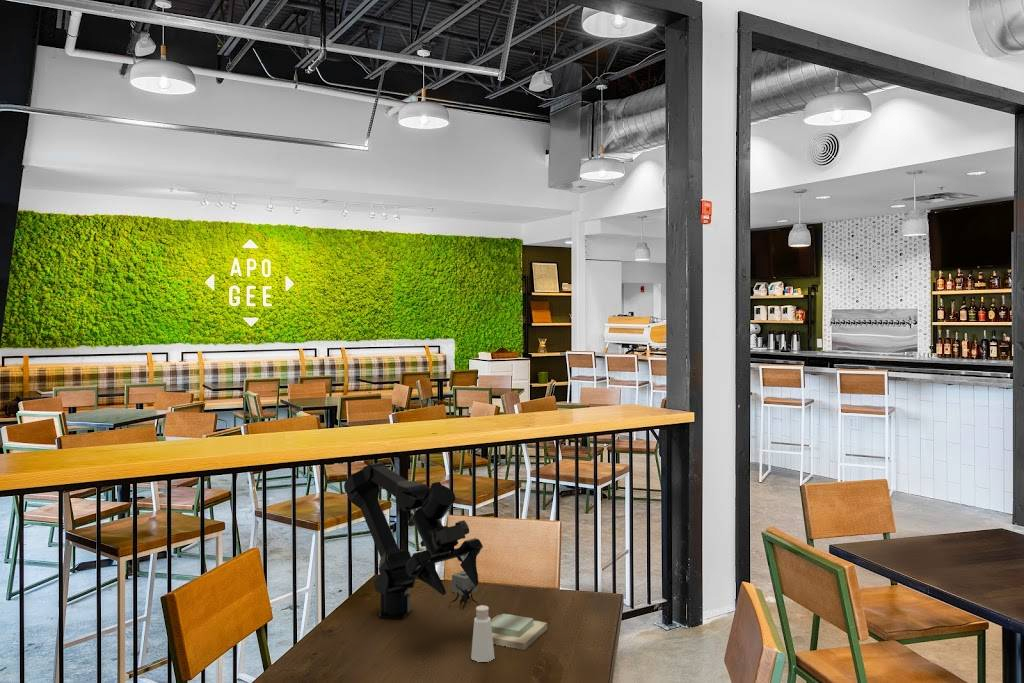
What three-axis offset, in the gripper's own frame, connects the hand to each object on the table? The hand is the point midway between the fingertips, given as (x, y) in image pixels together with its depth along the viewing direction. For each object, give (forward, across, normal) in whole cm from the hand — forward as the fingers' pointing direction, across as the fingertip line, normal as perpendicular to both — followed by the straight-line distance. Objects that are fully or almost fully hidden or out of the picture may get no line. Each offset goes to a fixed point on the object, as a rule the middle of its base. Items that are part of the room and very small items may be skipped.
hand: (461, 589), depth 168 cm
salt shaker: (+15, 0, +4) cm, 15 cm away
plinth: (+11, +13, +8) cm, 18 cm away
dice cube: (-10, +23, +29) cm, 38 cm away
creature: (-4, +16, +23) cm, 29 cm away
